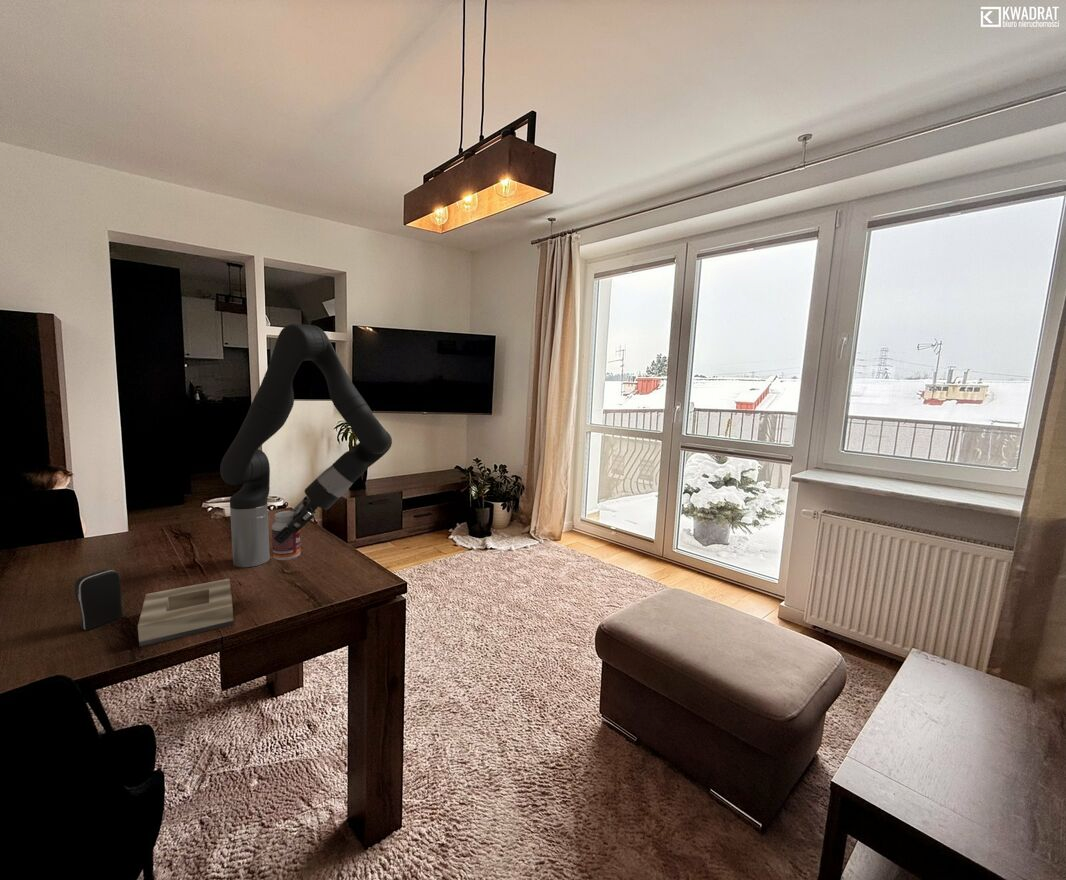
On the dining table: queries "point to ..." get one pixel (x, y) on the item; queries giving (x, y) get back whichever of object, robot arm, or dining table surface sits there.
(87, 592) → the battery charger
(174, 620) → the socket block
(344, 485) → the robot arm
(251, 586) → the dining table surface
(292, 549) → the pill bottle
